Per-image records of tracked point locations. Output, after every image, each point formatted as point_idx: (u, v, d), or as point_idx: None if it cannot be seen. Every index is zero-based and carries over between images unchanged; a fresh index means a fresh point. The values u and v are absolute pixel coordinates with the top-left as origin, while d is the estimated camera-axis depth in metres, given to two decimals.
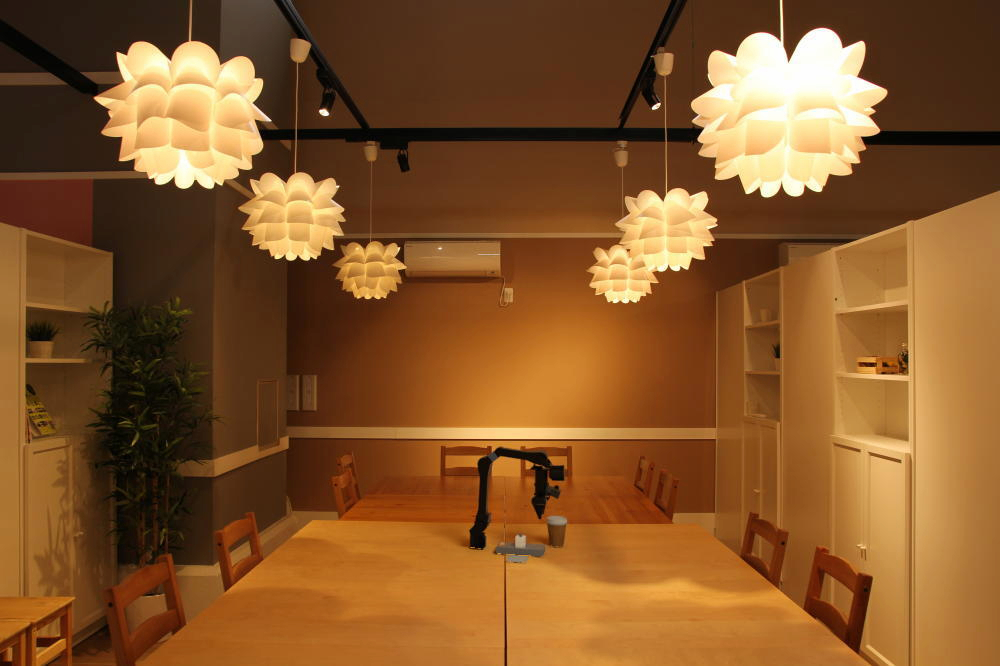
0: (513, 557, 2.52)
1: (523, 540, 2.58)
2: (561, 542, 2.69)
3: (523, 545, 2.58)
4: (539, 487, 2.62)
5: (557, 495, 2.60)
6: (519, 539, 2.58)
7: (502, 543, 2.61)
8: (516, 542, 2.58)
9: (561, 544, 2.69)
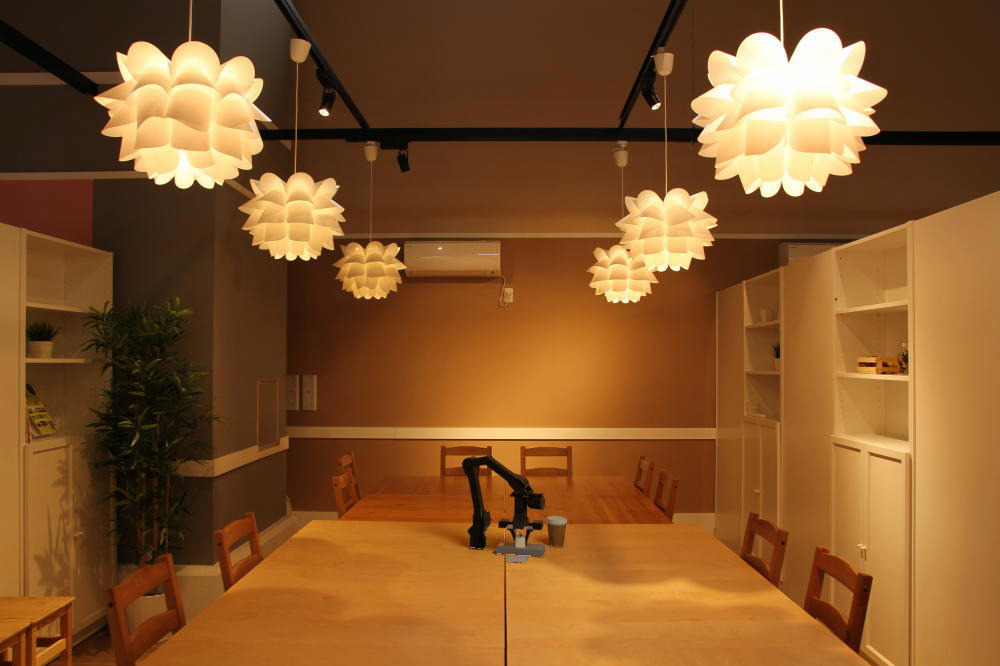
0: (513, 557, 2.52)
1: (523, 540, 2.58)
2: (561, 542, 2.69)
3: (523, 545, 2.58)
4: None
5: (512, 525, 2.54)
6: (519, 539, 2.58)
7: (502, 543, 2.61)
8: (516, 542, 2.58)
9: (561, 544, 2.69)
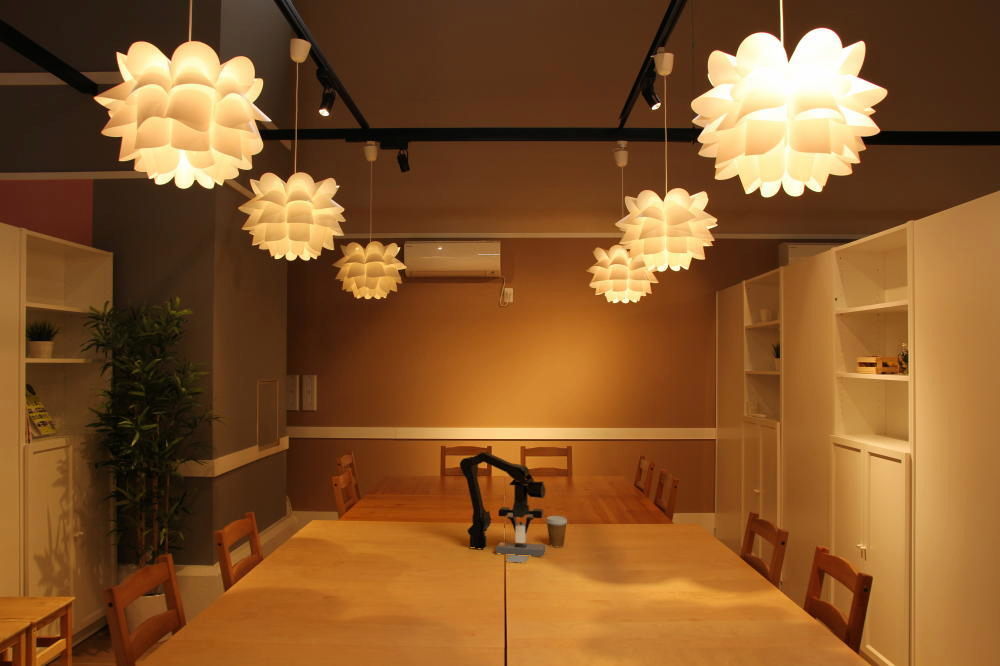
0: (513, 557, 2.52)
1: (523, 528, 2.58)
2: (561, 542, 2.69)
3: (523, 533, 2.58)
4: None
5: (512, 513, 2.54)
6: (519, 527, 2.59)
7: (502, 543, 2.61)
8: (516, 530, 2.59)
9: (561, 544, 2.69)
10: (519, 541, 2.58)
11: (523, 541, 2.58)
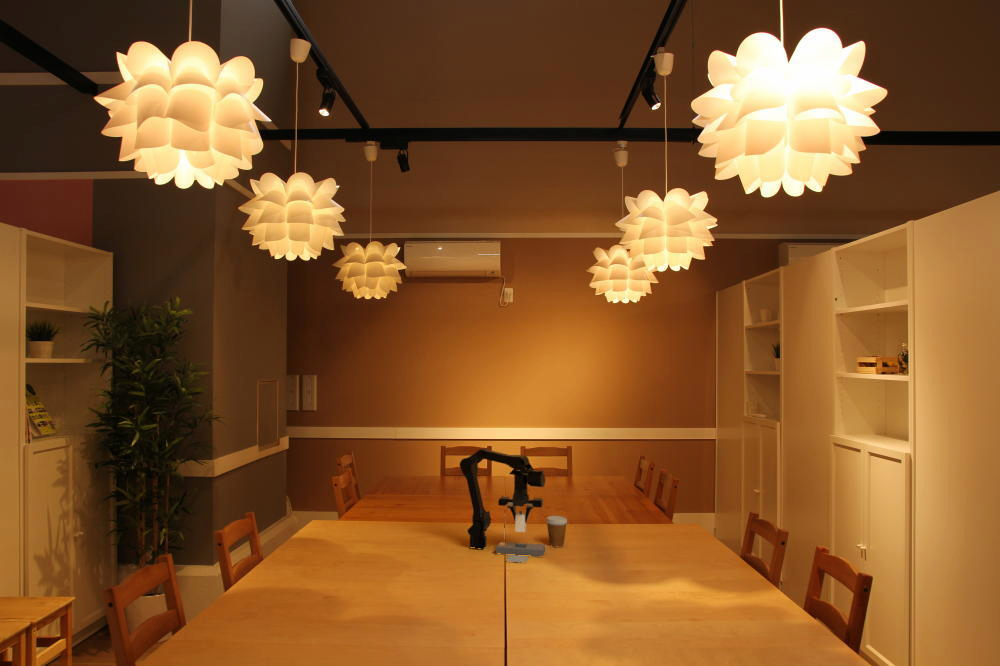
0: (513, 557, 2.52)
1: (523, 517, 2.58)
2: (561, 542, 2.69)
3: (523, 522, 2.58)
4: None
5: (512, 502, 2.54)
6: (519, 516, 2.59)
7: (502, 543, 2.61)
8: (516, 519, 2.59)
9: (561, 544, 2.69)
10: (519, 530, 2.58)
11: (523, 530, 2.58)
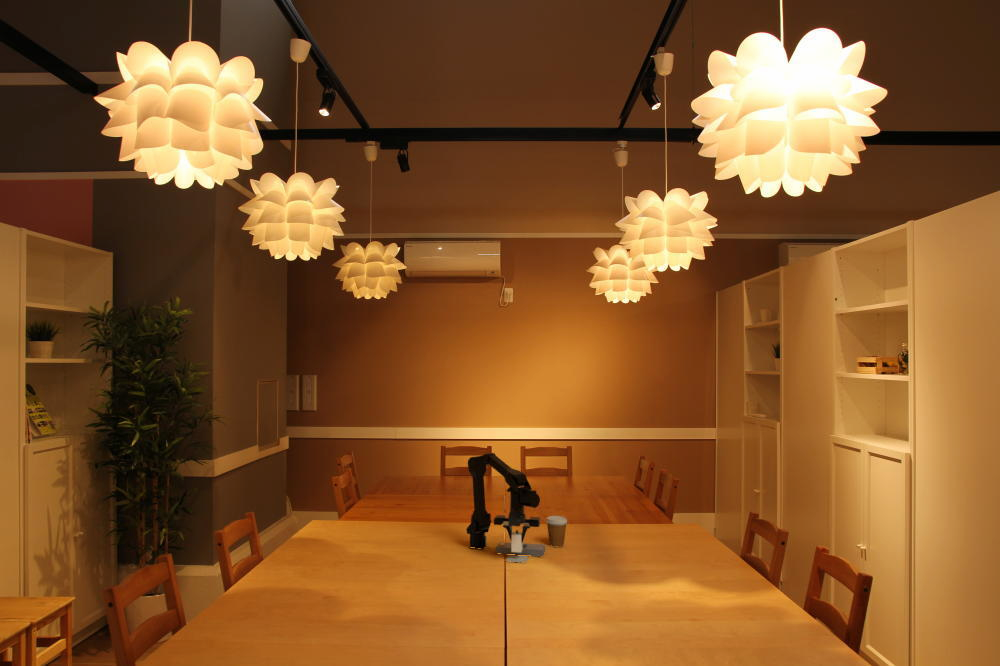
0: (513, 557, 2.52)
1: (519, 537, 2.49)
2: (561, 542, 2.69)
3: (519, 542, 2.49)
4: None
5: (508, 521, 2.45)
6: (515, 536, 2.49)
7: (502, 543, 2.61)
8: (512, 539, 2.49)
9: (561, 544, 2.69)
10: (515, 550, 2.49)
11: (519, 550, 2.49)
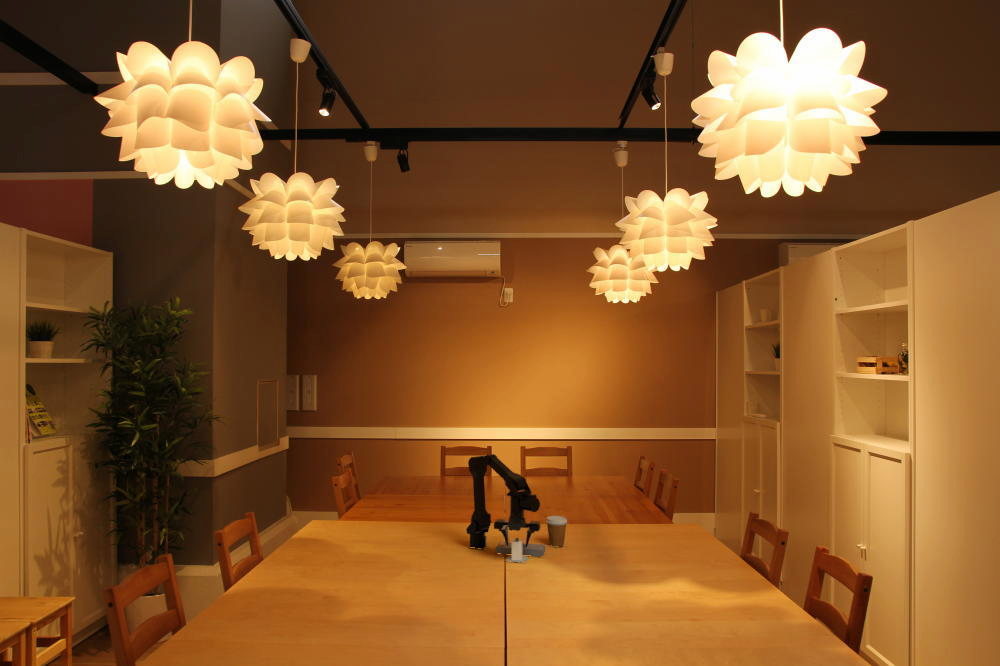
0: None
1: (519, 545, 2.49)
2: (561, 542, 2.69)
3: (519, 550, 2.49)
4: None
5: (508, 526, 2.45)
6: (515, 544, 2.49)
7: (502, 543, 2.61)
8: (512, 547, 2.49)
9: (561, 544, 2.69)
10: (515, 558, 2.49)
11: (519, 558, 2.48)
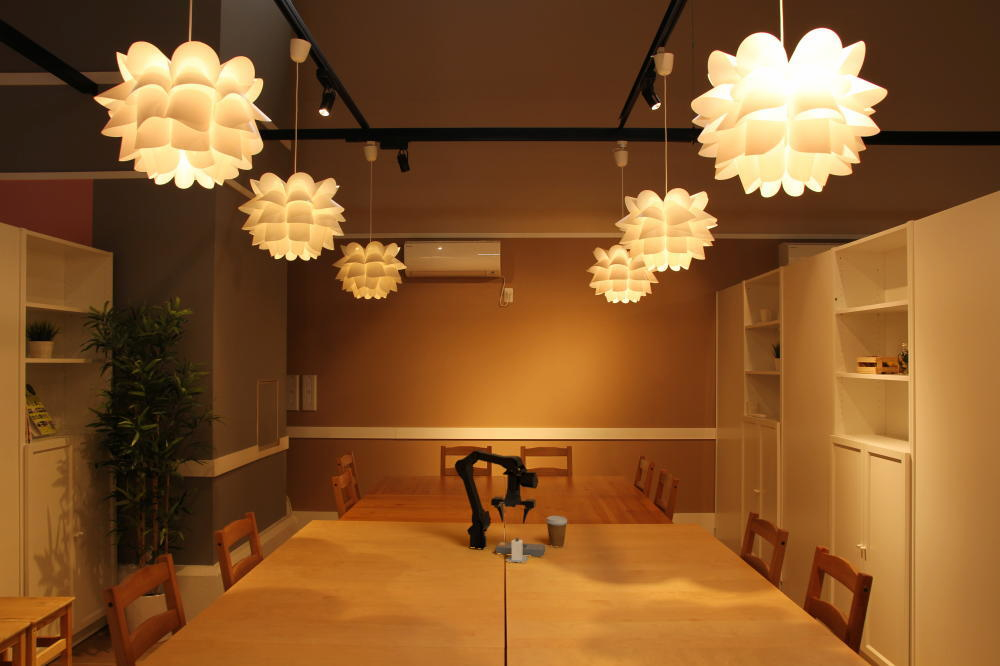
0: None
1: (519, 545, 2.49)
2: (561, 542, 2.69)
3: (519, 550, 2.49)
4: None
5: (504, 502, 2.55)
6: (515, 544, 2.49)
7: (502, 543, 2.61)
8: (512, 547, 2.49)
9: (561, 544, 2.69)
10: (515, 558, 2.49)
11: (519, 558, 2.48)
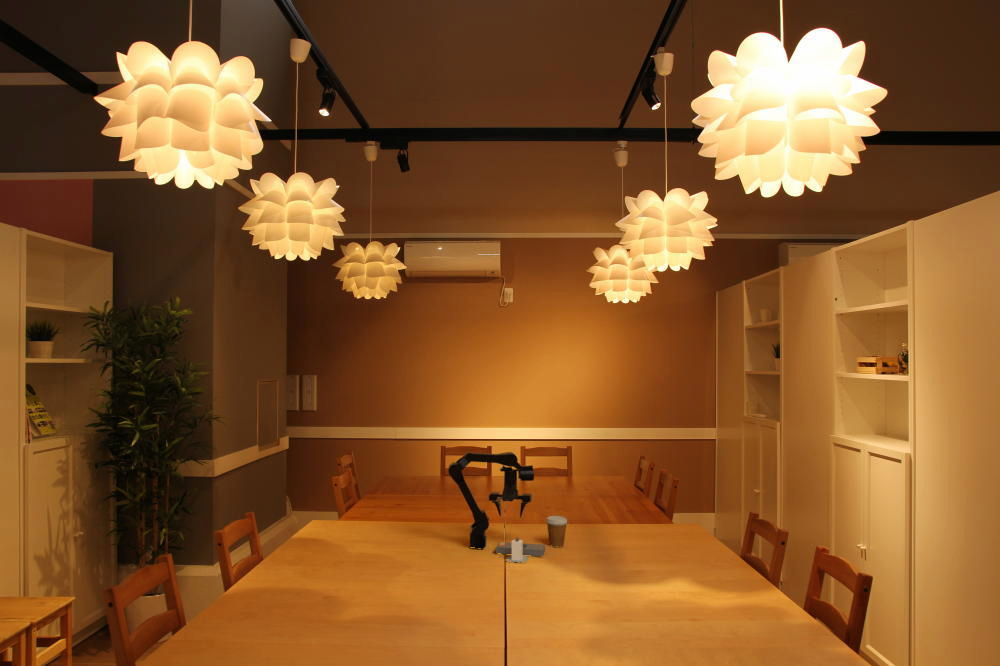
0: None
1: (519, 545, 2.49)
2: (561, 542, 2.69)
3: (519, 550, 2.49)
4: None
5: (502, 497, 2.64)
6: (515, 544, 2.49)
7: (502, 543, 2.61)
8: (512, 547, 2.49)
9: (561, 544, 2.69)
10: (515, 558, 2.49)
11: (519, 558, 2.48)
